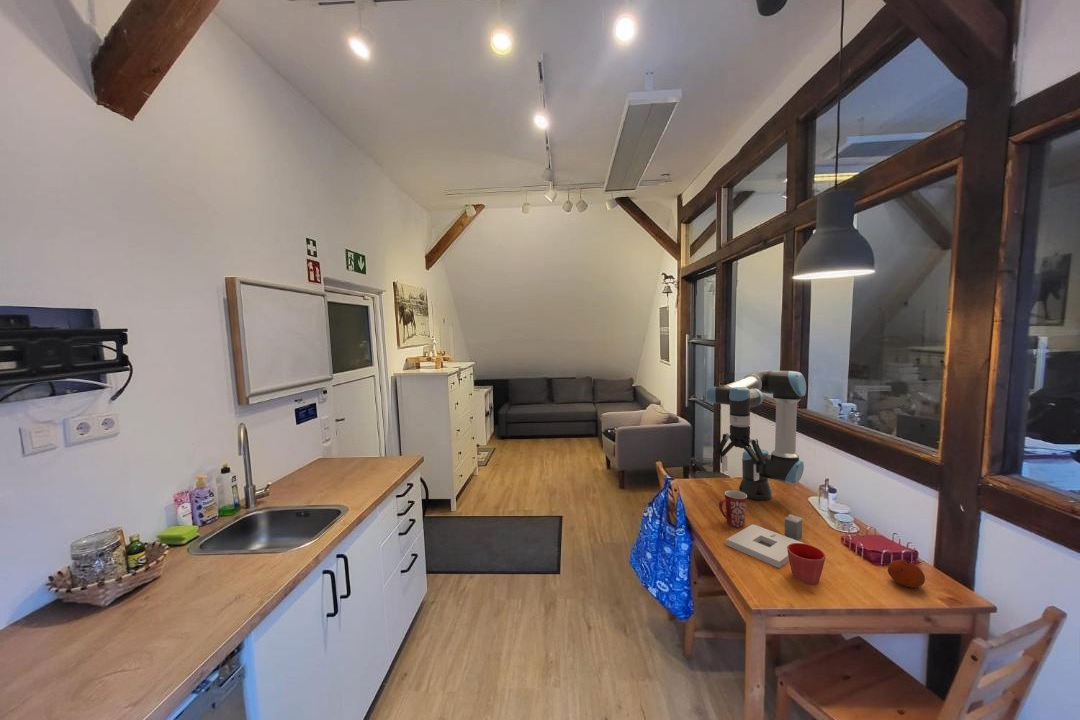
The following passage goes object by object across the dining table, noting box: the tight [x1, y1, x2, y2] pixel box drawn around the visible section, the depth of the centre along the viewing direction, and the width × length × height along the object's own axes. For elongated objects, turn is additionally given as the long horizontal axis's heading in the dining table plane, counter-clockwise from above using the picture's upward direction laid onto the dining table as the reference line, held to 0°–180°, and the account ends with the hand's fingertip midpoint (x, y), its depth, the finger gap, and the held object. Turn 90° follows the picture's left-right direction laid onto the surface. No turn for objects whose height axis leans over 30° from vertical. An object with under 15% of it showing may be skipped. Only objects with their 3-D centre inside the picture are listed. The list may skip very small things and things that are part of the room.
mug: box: [718, 489, 748, 528], centre depth 176 cm, size 13×9×14 cm
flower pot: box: [787, 542, 826, 586], centre depth 137 cm, size 11×11×10 cm
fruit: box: [887, 559, 926, 589], centre depth 132 cm, size 9×9×8 cm
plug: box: [784, 514, 803, 541], centre depth 164 cm, size 5×5×8 cm
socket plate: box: [726, 523, 806, 569], centre depth 157 cm, size 20×20×3 cm
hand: (740, 475), depth 166 cm, fingers open, 13 cm apart
